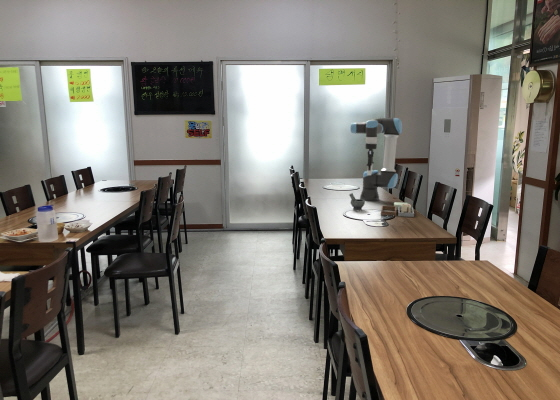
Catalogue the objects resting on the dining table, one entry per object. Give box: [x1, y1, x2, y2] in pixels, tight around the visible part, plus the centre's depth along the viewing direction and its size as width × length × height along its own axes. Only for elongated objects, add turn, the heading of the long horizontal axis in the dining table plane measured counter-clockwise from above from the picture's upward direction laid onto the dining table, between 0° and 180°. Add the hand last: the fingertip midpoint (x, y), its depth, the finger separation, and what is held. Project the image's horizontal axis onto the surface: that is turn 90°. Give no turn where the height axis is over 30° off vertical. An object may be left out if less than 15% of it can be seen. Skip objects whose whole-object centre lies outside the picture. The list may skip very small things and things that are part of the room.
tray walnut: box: [380, 205, 397, 217], centre depth 316 cm, size 20×10×2 cm, turn 166°
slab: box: [393, 201, 409, 211], centre depth 329 cm, size 10×10×4 cm
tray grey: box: [397, 206, 415, 218], centre depth 313 cm, size 20×10×2 cm, turn 166°
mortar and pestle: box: [349, 192, 366, 211], centre depth 323 cm, size 11×9×12 cm
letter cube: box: [400, 203, 412, 213], centre depth 313 cm, size 6×6×6 cm
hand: (369, 174), depth 314 cm, fingers open, 13 cm apart
